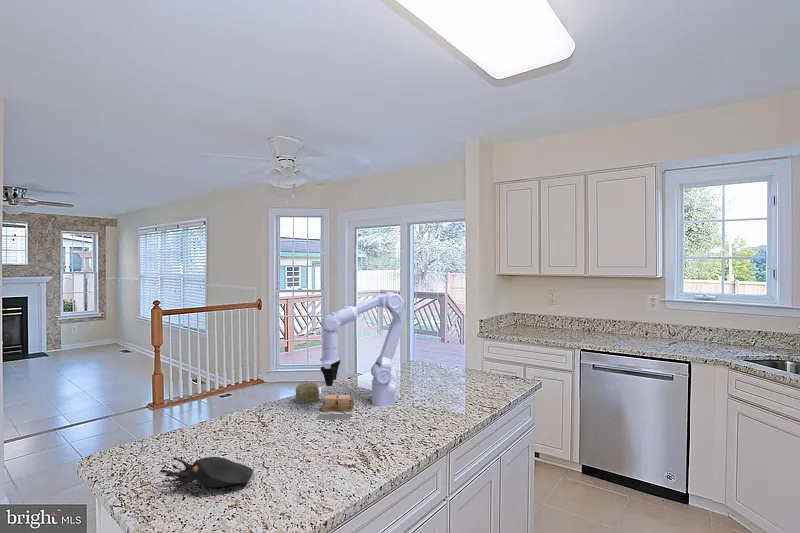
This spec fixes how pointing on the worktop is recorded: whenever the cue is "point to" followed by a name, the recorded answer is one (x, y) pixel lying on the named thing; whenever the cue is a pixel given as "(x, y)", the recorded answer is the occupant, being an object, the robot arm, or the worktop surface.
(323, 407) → the walnut bin
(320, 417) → the slate board
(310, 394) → the coral
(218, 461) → the toy
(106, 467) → the worktop surface
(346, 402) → the peach cube
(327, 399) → the tan cube
